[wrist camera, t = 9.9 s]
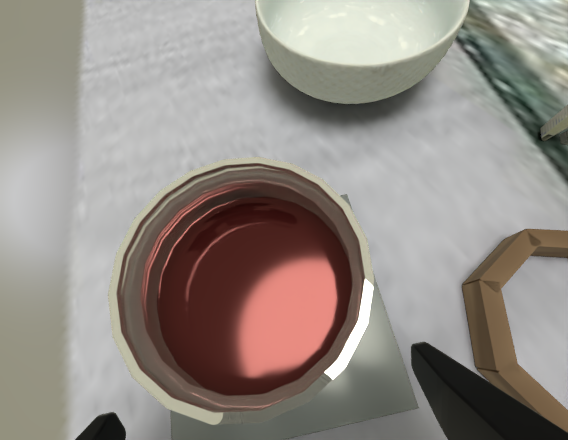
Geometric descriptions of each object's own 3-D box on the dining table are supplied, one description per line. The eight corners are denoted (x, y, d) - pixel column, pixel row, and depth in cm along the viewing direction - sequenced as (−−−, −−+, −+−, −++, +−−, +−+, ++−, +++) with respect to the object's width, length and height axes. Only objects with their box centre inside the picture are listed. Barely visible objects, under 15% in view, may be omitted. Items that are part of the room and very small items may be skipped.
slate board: (410, 403, 17) (418, 408, 16) (181, 456, 16) (172, 465, 15) (344, 201, 22) (347, 194, 21) (171, 237, 22) (164, 231, 21)
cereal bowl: (283, 9, 32) (279, -73, 26) (431, 21, 30) (467, -66, 24) (245, 121, 26) (228, 49, 20) (429, 145, 24) (478, 73, 17)
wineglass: (304, 389, 16) (314, 503, 5) (206, 338, 18) (47, 339, 7) (343, 282, 18) (408, 201, 7) (253, 244, 20) (195, 128, 9)
